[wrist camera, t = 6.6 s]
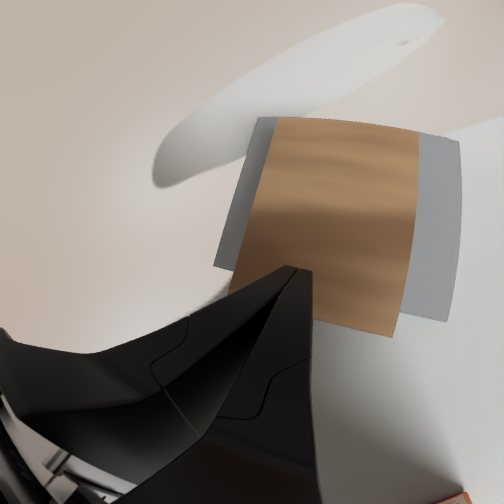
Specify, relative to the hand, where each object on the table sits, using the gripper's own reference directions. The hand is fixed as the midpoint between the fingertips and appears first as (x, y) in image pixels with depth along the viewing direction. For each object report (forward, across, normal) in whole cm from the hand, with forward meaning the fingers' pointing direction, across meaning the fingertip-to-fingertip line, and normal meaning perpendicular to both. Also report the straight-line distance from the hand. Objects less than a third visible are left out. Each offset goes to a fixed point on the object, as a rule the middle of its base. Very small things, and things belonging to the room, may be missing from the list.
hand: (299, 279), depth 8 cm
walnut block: (+2, 0, +4) cm, 5 cm away
